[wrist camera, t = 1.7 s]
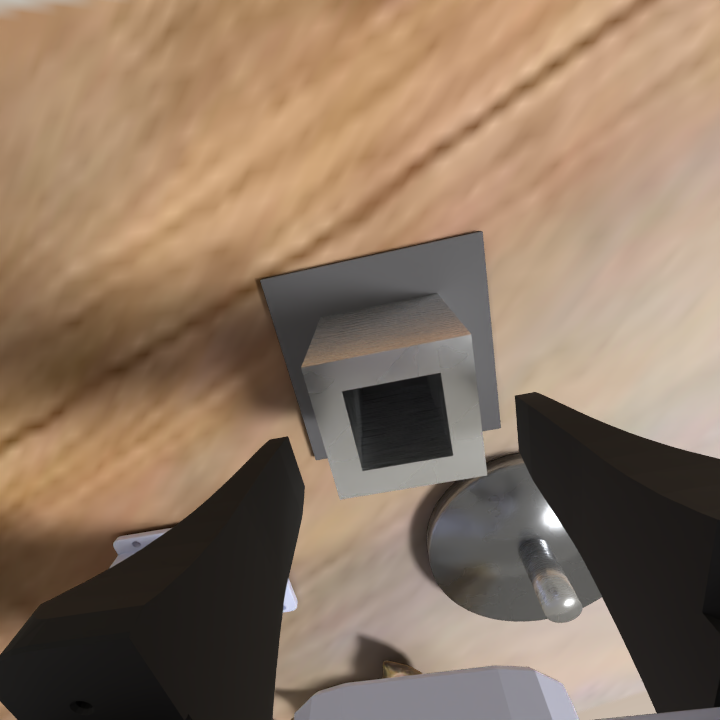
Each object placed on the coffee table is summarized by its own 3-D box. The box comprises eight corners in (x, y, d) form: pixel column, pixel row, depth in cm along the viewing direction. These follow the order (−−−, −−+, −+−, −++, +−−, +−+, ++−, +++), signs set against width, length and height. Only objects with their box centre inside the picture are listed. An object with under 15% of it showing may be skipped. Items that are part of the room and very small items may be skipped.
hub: (440, 614, 26) (455, 696, 22) (411, 470, 22) (423, 538, 17) (625, 589, 25) (681, 671, 21) (634, 433, 21) (707, 495, 16)
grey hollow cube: (346, 417, 20) (340, 499, 15) (320, 317, 18) (301, 367, 13) (452, 398, 20) (487, 475, 14) (437, 293, 18) (471, 334, 12)
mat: (316, 457, 21) (315, 460, 21) (261, 279, 18) (260, 280, 17) (498, 425, 20) (500, 428, 20) (480, 230, 17) (482, 231, 17)
